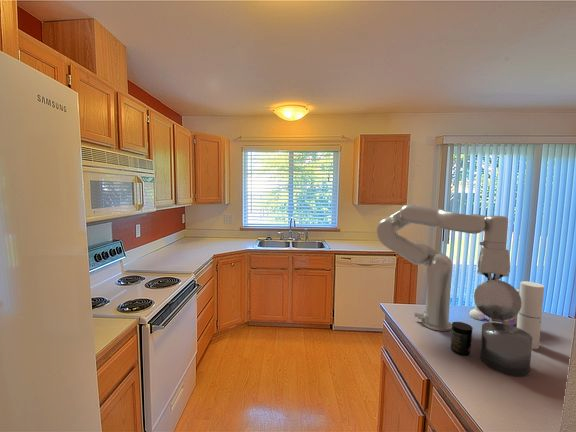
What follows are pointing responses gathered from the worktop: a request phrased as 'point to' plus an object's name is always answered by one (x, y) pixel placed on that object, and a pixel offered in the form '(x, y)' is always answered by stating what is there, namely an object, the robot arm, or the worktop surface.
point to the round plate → (497, 300)
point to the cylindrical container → (531, 310)
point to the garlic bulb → (477, 314)
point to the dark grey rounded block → (506, 349)
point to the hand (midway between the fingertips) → (491, 288)
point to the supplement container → (461, 338)
